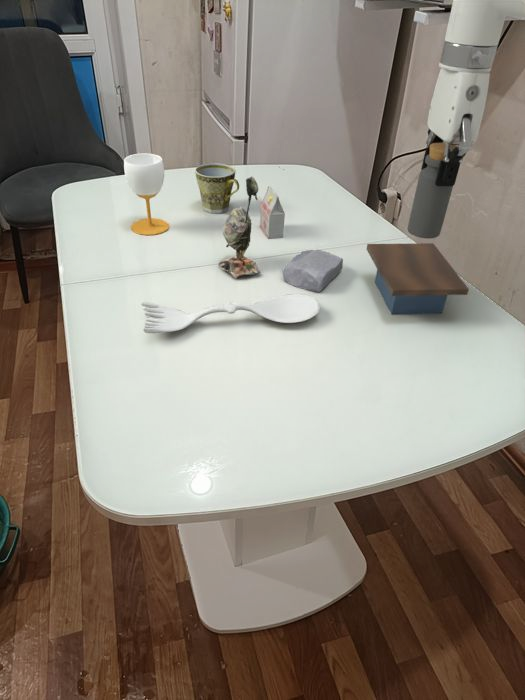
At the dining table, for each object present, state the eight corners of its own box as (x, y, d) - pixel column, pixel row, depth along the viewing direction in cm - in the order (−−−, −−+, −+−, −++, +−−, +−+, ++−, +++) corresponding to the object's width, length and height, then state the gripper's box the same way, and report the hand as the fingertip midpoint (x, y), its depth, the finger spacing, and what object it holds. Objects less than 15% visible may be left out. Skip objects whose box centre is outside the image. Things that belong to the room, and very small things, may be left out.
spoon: (142, 315, 93) (140, 299, 91) (310, 299, 100) (311, 284, 97) (145, 345, 86) (142, 328, 84) (324, 326, 93) (326, 310, 91)
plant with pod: (251, 253, 114) (253, 162, 102) (262, 278, 105) (266, 183, 93) (215, 255, 112) (213, 164, 100) (223, 282, 104) (222, 185, 91)
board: (432, 248, 106) (433, 243, 105) (467, 294, 92) (469, 289, 91) (366, 249, 105) (367, 243, 104) (391, 296, 90) (393, 290, 90)
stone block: (278, 288, 106) (323, 294, 101) (276, 267, 103) (321, 271, 98) (304, 267, 114) (346, 271, 109) (302, 246, 112) (345, 250, 107)
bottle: (430, 224, 95) (451, 140, 86) (445, 237, 91) (470, 151, 82) (401, 225, 94) (420, 141, 85) (415, 240, 90) (436, 152, 81)
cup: (123, 231, 120) (113, 162, 110) (143, 216, 127) (136, 150, 117) (157, 238, 118) (150, 168, 108) (176, 223, 125) (171, 156, 115)
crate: (420, 281, 107) (427, 255, 103) (442, 313, 98) (450, 286, 94) (374, 281, 106) (379, 255, 102) (391, 314, 97) (397, 287, 93)
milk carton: (274, 225, 126) (276, 185, 120) (283, 237, 121) (286, 196, 115) (260, 226, 125) (261, 186, 119) (268, 238, 120) (270, 197, 114)
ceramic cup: (188, 208, 132) (186, 169, 126) (216, 198, 138) (215, 160, 132) (224, 223, 126) (224, 183, 120) (251, 212, 132) (252, 173, 126)
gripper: (519, 68, 69) (479, 198, 80) (467, 48, 83) (439, 161, 94) (466, 67, 68) (433, 198, 80) (422, 47, 82) (399, 161, 93)
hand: (437, 177), depth 87 cm, fingers closed on bottle, 5 cm apart
